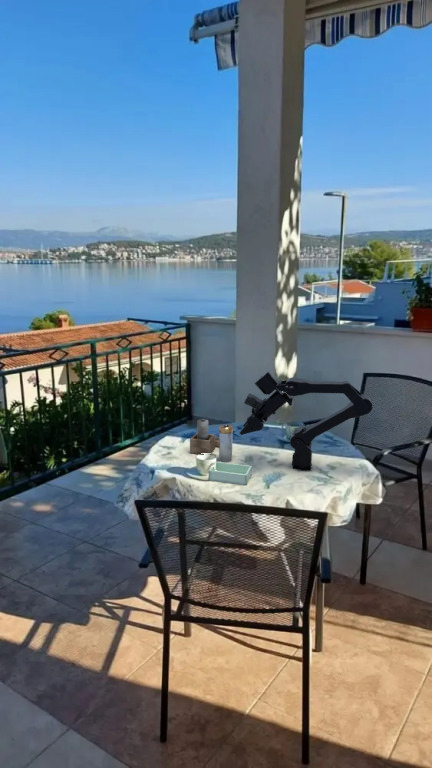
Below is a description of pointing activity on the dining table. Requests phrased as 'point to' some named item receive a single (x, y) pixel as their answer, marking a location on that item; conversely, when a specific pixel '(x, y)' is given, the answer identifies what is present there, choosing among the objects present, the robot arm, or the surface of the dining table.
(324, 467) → the dining table surface
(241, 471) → the trough
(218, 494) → the dining table surface
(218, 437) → the wooden switch box
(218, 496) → the dining table surface
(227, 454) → the cell
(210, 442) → the bin
